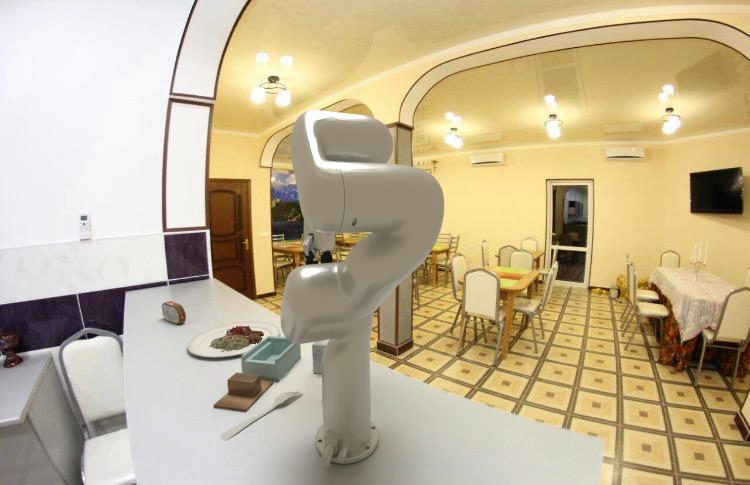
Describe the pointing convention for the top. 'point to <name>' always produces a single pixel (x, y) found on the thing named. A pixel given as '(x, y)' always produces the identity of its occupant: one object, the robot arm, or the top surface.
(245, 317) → the top surface
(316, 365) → the medicine box
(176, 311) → the tin
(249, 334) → the plated food
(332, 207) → the robot arm
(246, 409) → the cover plate
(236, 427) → the fork
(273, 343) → the slide box
